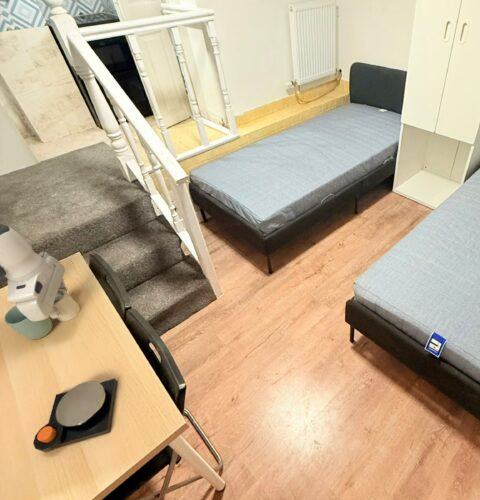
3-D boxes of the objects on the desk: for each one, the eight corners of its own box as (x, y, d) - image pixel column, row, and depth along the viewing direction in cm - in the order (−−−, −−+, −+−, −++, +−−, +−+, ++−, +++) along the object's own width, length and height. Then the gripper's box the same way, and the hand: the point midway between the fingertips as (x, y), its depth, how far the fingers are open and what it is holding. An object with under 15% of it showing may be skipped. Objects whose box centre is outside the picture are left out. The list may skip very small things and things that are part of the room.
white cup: (55, 323, 102) (38, 308, 96) (60, 307, 106) (44, 291, 101) (77, 318, 103) (62, 302, 98) (82, 302, 108) (68, 286, 102)
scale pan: (51, 433, 76) (50, 432, 76) (63, 389, 84) (61, 388, 83) (101, 418, 78) (100, 418, 78) (108, 376, 86) (107, 375, 85)
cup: (49, 316, 104) (29, 296, 97) (61, 328, 101) (41, 309, 94) (22, 334, 100) (-1, 315, 93) (34, 348, 96) (10, 329, 89)
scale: (39, 457, 76) (29, 453, 74) (55, 398, 86) (47, 392, 83) (109, 436, 79) (102, 431, 76) (117, 381, 88) (111, 375, 86)
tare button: (40, 444, 75) (35, 442, 74) (44, 431, 77) (39, 428, 76) (54, 440, 76) (50, 438, 74) (58, 426, 78) (53, 424, 77)
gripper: (30, 250, 98) (58, 280, 108) (4, 305, 84) (39, 334, 94) (53, 245, 99) (79, 276, 109) (32, 298, 85) (63, 328, 95)
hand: (60, 303), depth 101 cm, fingers open, 8 cm apart
